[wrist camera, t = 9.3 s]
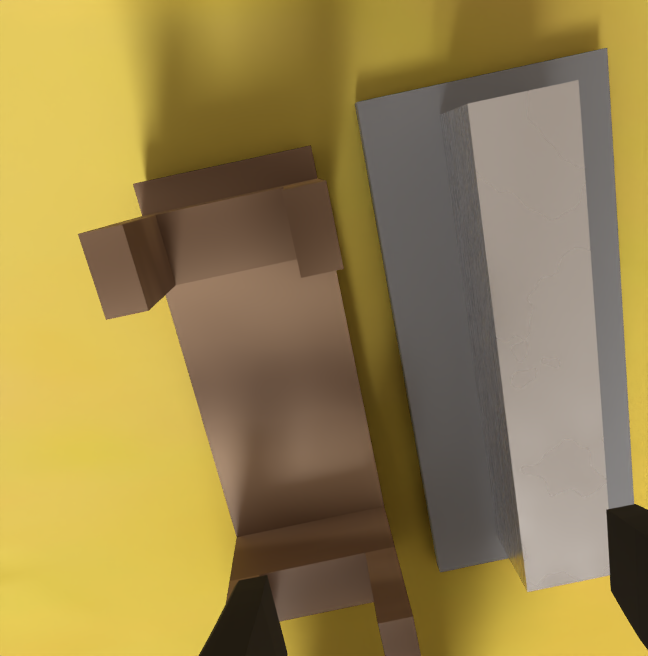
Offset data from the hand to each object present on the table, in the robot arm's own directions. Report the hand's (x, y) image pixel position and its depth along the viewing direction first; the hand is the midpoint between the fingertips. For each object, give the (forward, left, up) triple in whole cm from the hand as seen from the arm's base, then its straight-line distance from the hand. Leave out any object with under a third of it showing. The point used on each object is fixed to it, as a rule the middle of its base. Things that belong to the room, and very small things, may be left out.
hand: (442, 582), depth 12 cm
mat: (+1, -5, -10) cm, 11 cm away
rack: (+1, +3, -10) cm, 10 cm away
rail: (+1, -5, -9) cm, 10 cm away
